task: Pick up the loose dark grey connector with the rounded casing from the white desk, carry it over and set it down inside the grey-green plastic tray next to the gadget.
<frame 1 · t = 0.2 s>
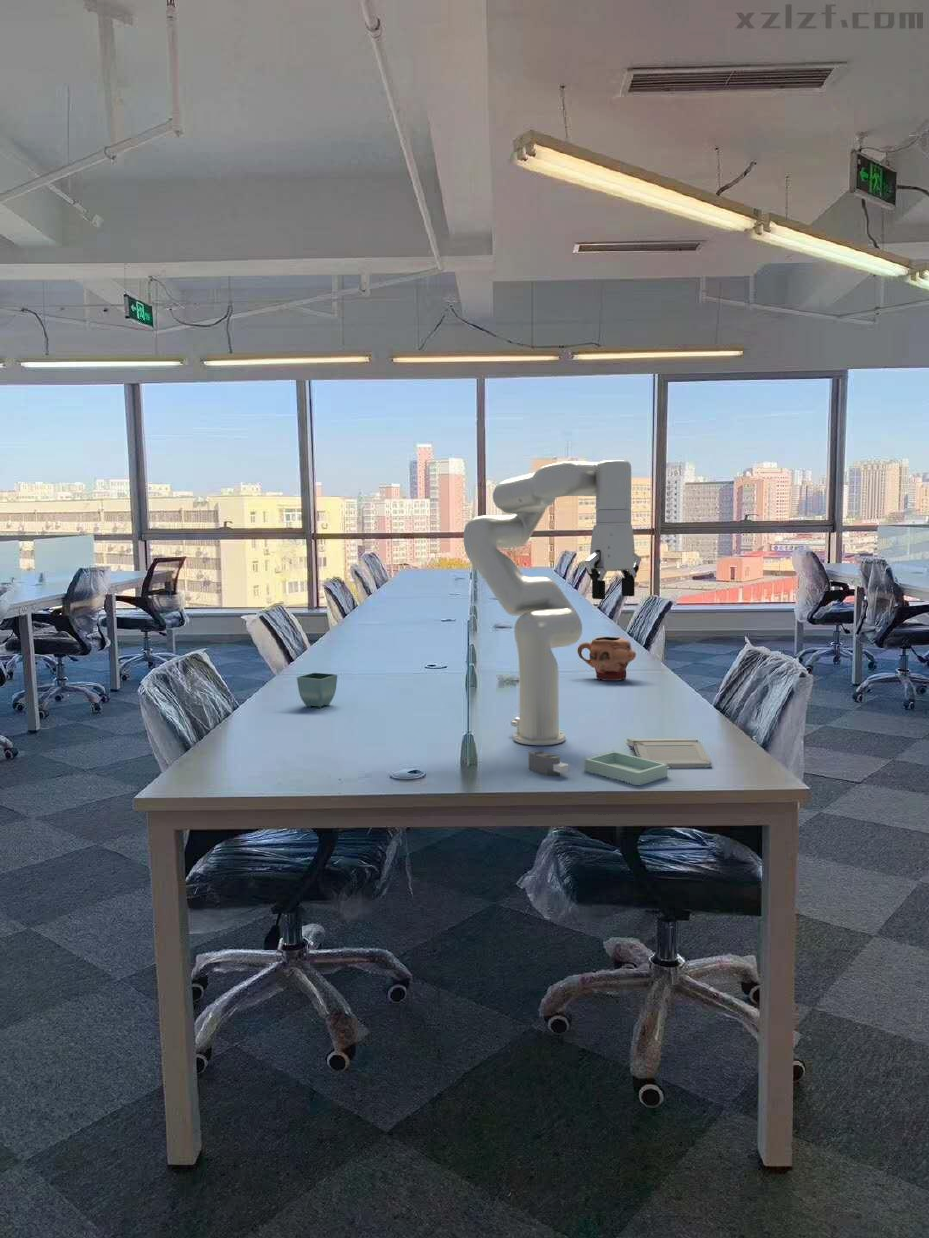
hand: (613, 597, 193), 36 cm above the table, tool pointing down, fingers open, 9 cm apart
tray: (625, 773, 186), on the table
connector: (544, 771, 189), on the table
sculpted clay mug: (606, 679, 296), on the table
gadget: (666, 757, 201), on the table
flower pot: (318, 706, 259), on the table
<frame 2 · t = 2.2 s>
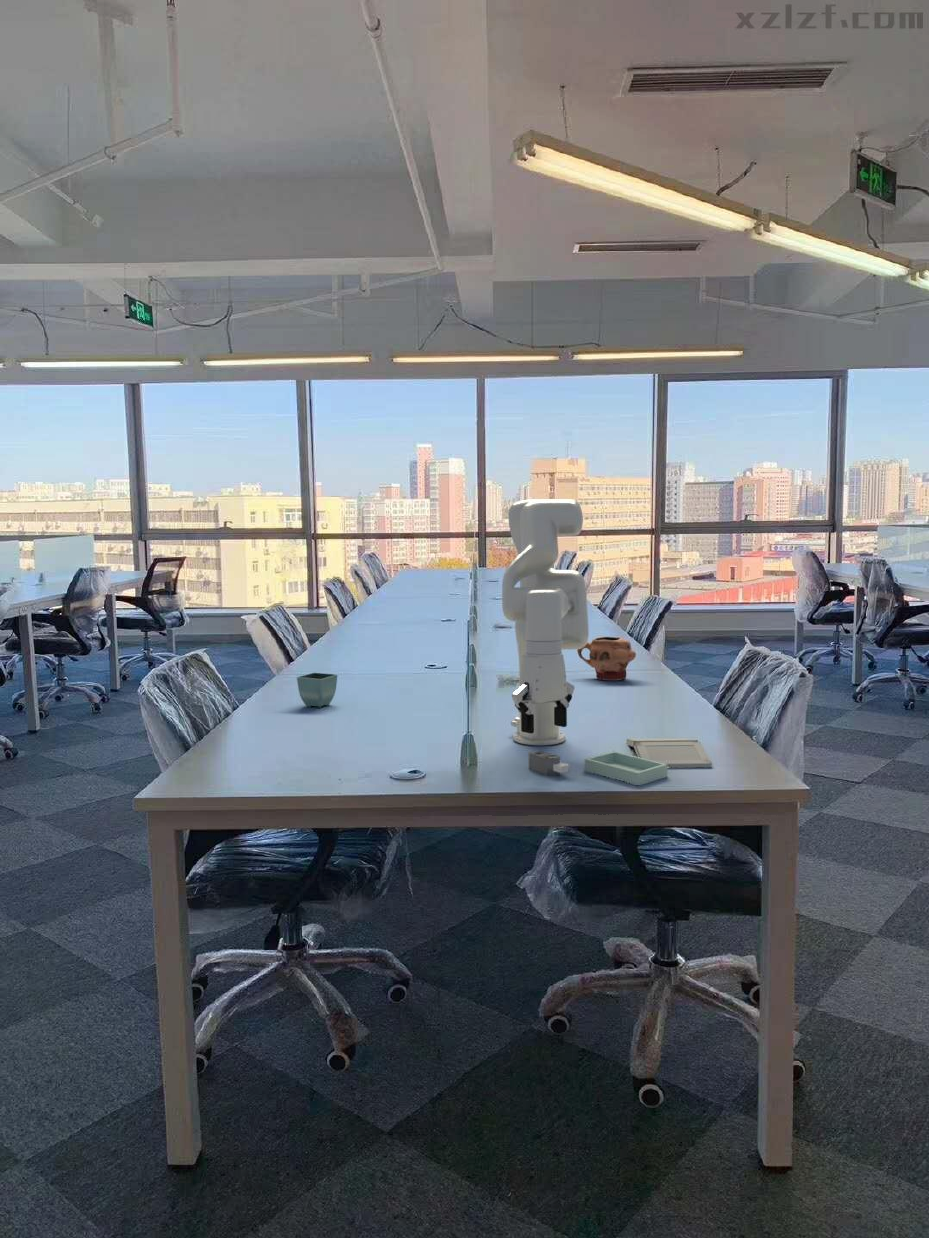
hand: (544, 729, 187), 9 cm above the table, tool pointing down, fingers open, 9 cm apart
nothing on the table moved.
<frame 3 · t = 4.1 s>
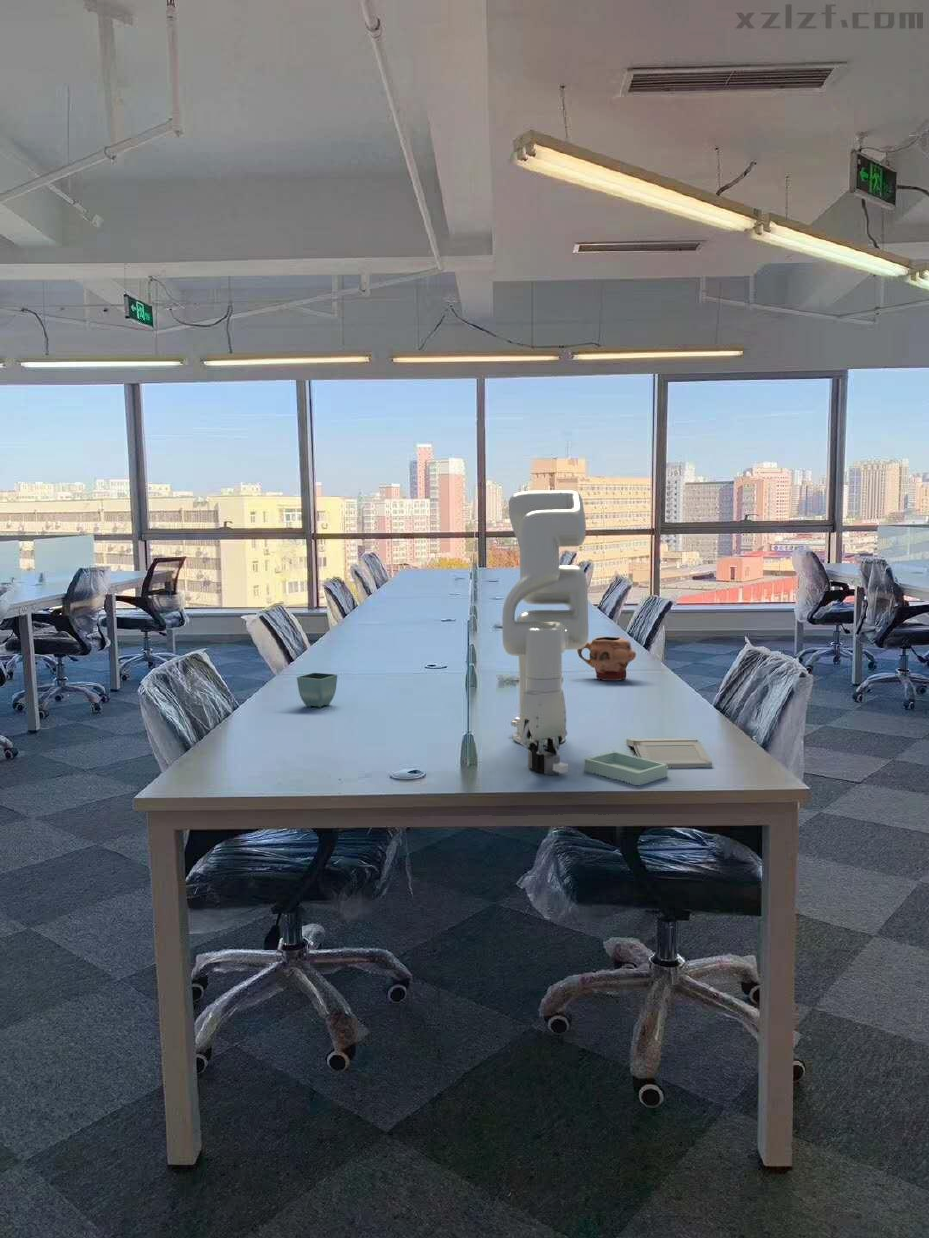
hand: (544, 769, 189), 0 cm above the table, tool pointing down, fingers closed on connector, 3 cm apart
connector: (543, 769, 189), on the table, touching gripper
everything else where it was.
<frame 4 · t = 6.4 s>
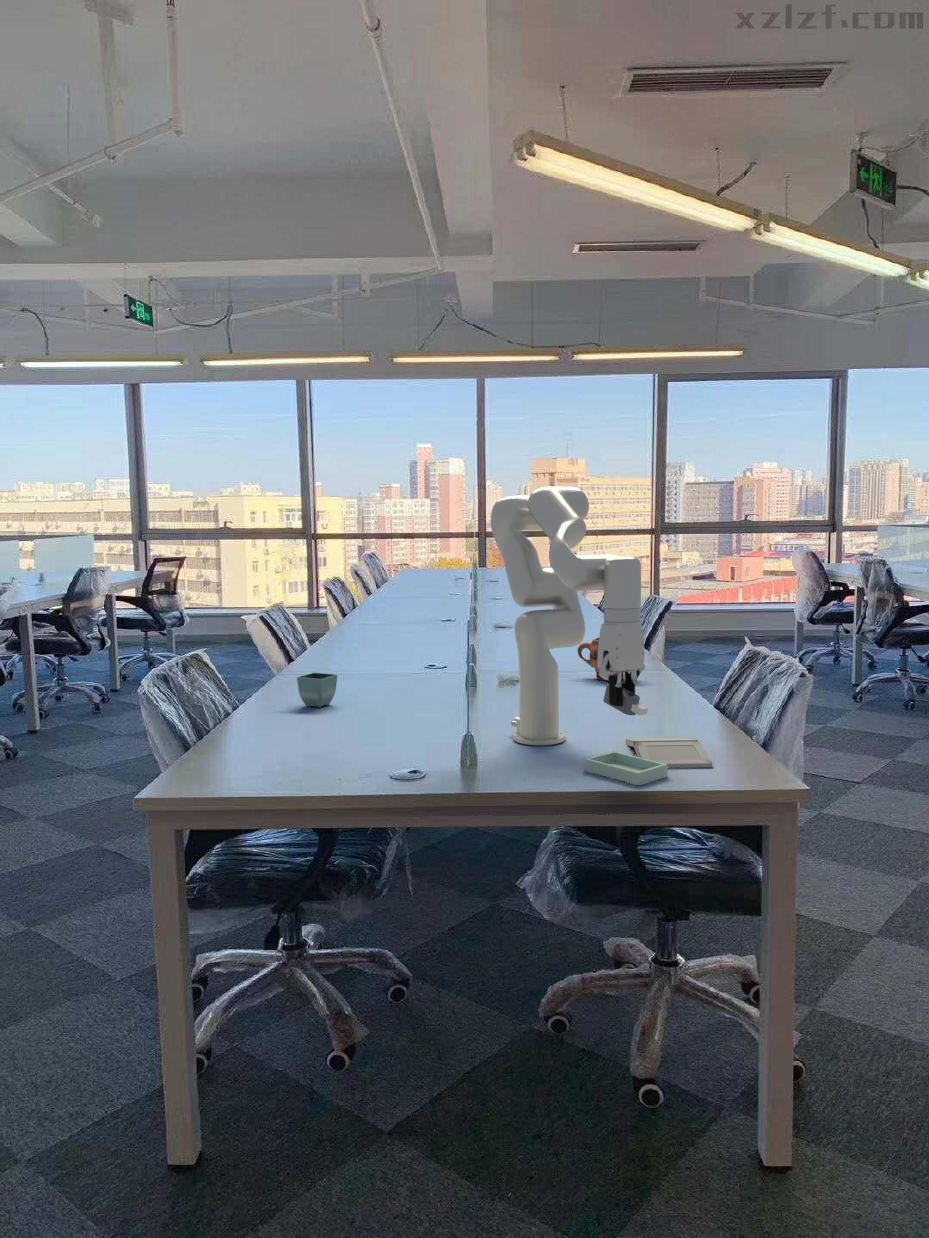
hand: (622, 703, 185), 15 cm above the table, tool pointing down, fingers closed on connector, 3 cm apart
connector: (619, 706, 185), point 14 cm above the table, tilted 16°, touching gripper
everything else where it was.
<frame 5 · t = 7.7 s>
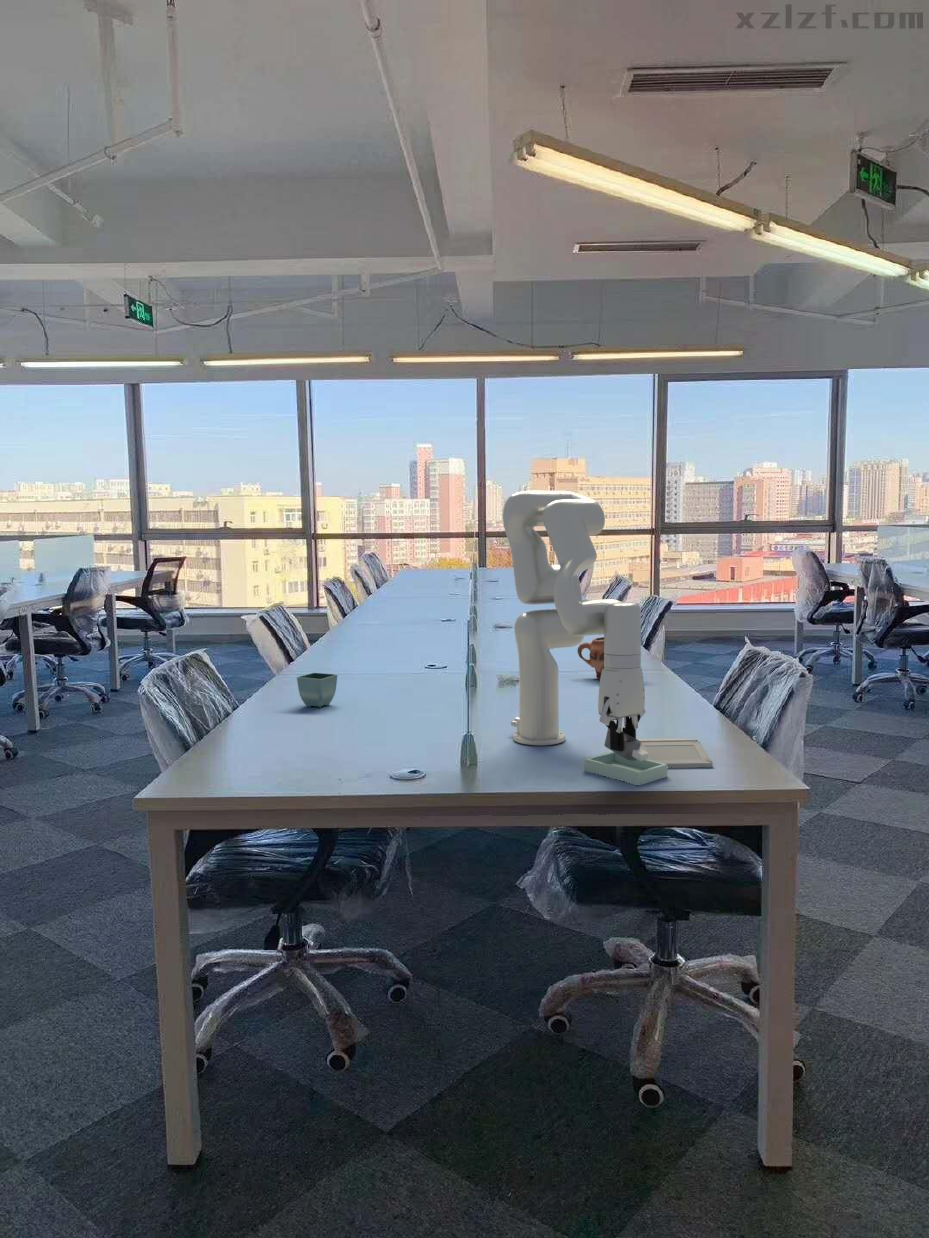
hand: (623, 747, 185), 5 cm above the table, tool pointing down, fingers closed on connector, 3 cm apart
connector: (620, 751, 186), point 5 cm above the table, tilted 15°, touching gripper
everything else where it was.
when the fingers open (3 cm above the table, at t = 8.8 s): connector drops 1 cm, resting on tray.
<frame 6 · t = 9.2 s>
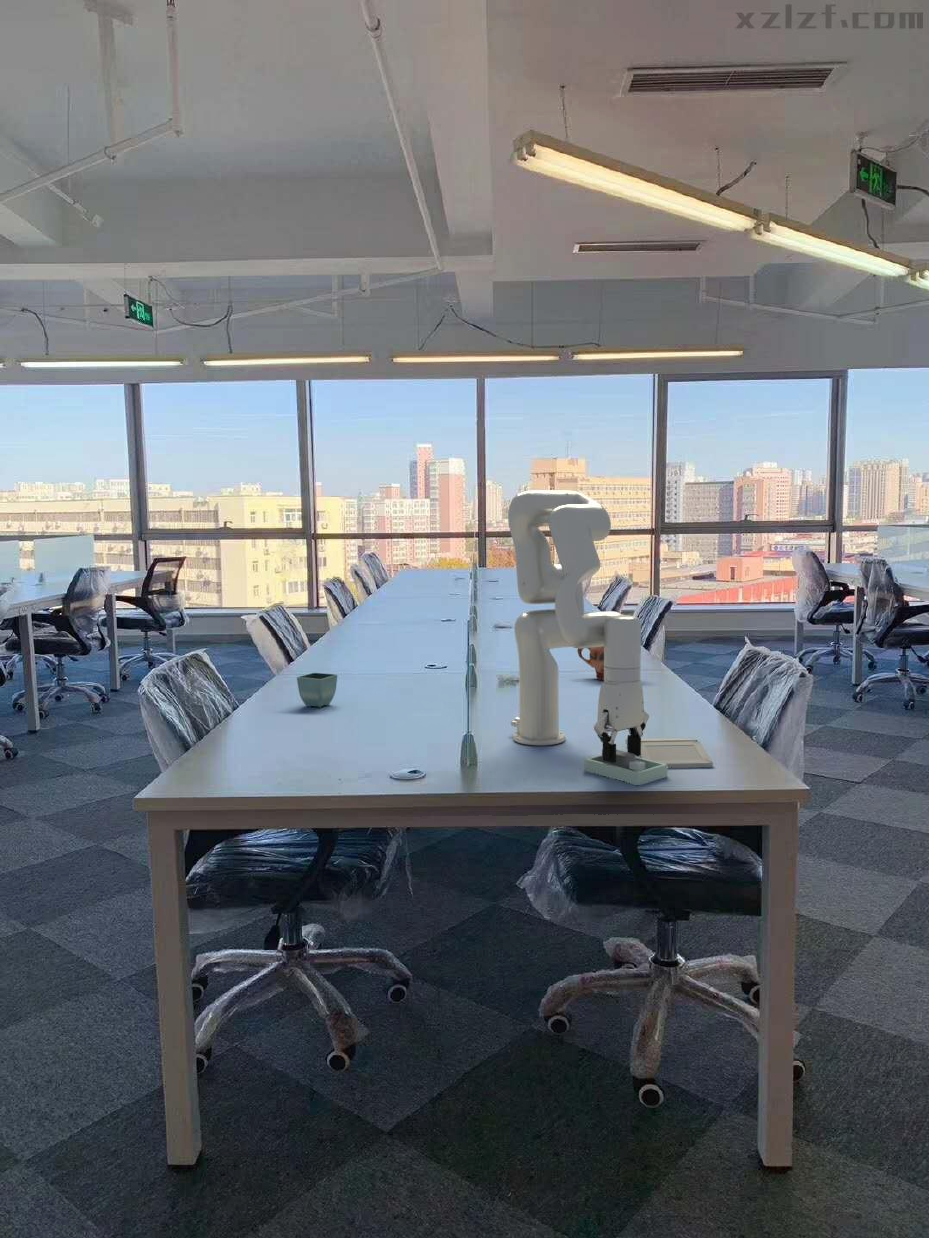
hand: (621, 757, 186), 3 cm above the table, tool pointing down, fingers open, 7 cm apart
connector: (618, 769, 187), point 1 cm above the table, touching tray
everything else where it was.
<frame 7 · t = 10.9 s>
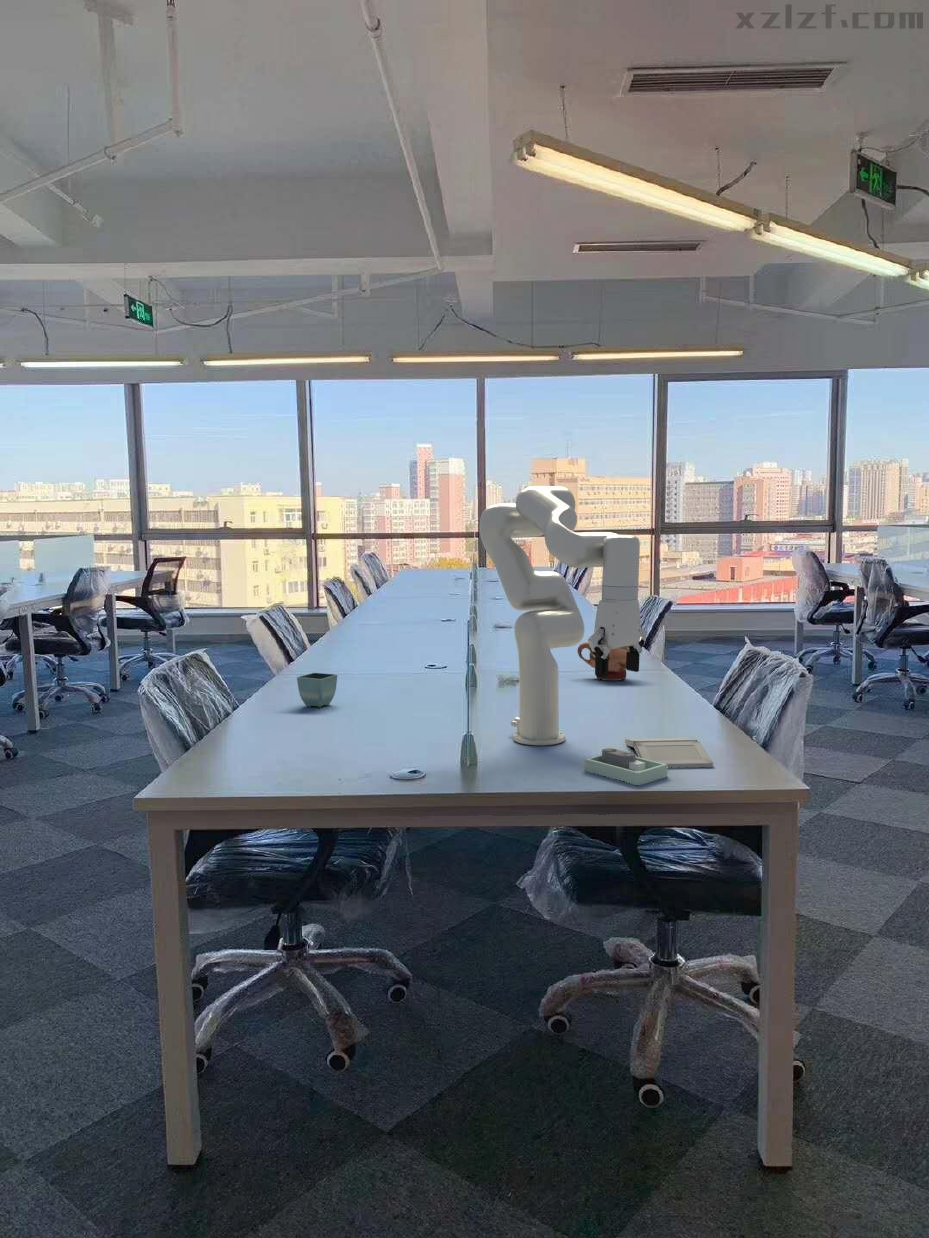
hand: (617, 673, 188), 20 cm above the table, tool pointing down, fingers open, 9 cm apart
nothing on the table moved.
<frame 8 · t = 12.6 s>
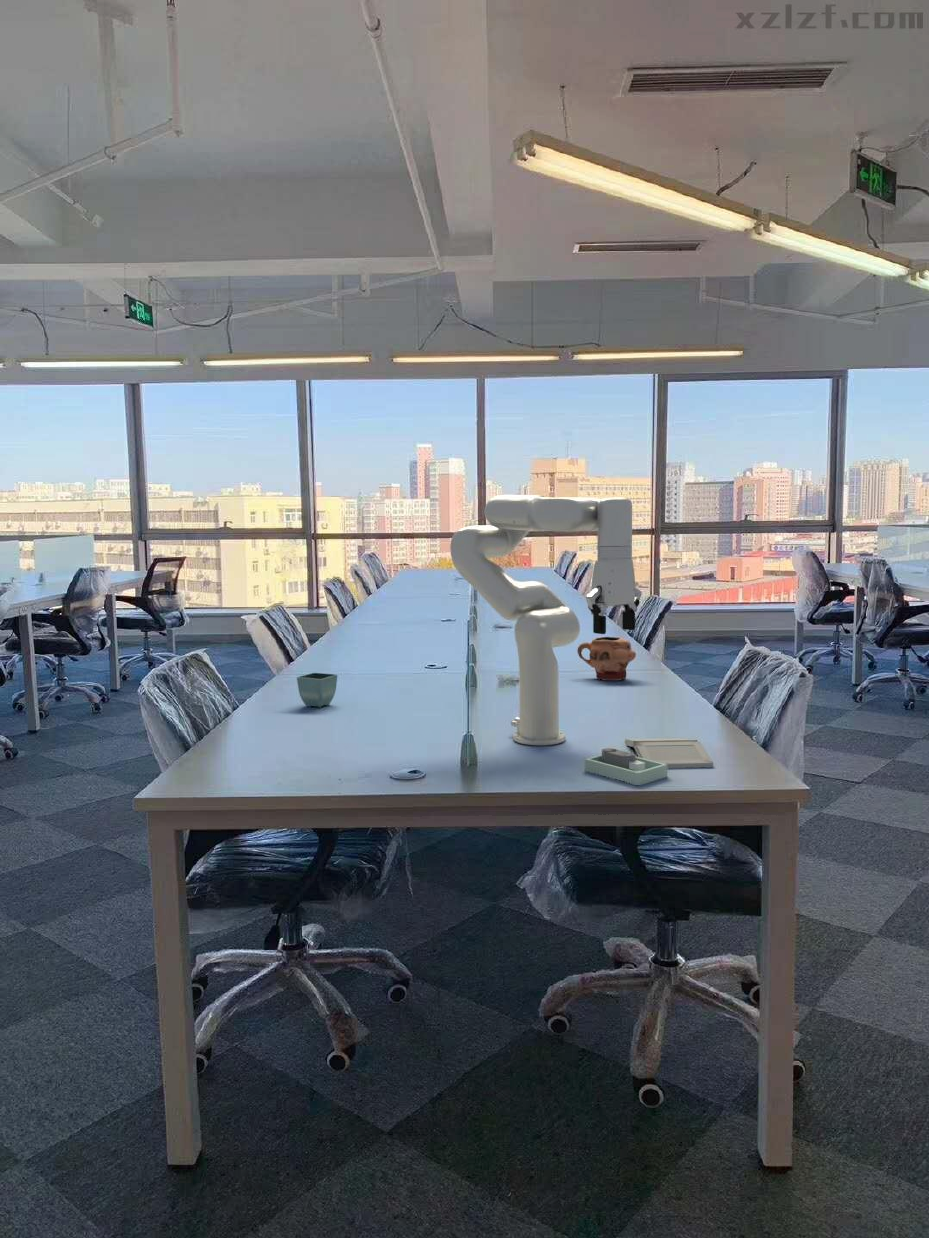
hand: (614, 631, 197), 28 cm above the table, tool pointing down, fingers open, 9 cm apart
nothing on the table moved.
at the end: connector inside the target area on the tray (1.9 cm from its centre), point 0.6 cm above the tray's base; the gripper is holding nothing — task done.
